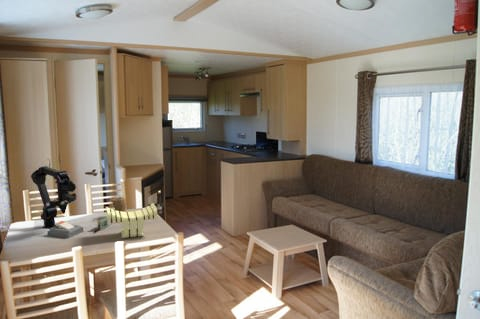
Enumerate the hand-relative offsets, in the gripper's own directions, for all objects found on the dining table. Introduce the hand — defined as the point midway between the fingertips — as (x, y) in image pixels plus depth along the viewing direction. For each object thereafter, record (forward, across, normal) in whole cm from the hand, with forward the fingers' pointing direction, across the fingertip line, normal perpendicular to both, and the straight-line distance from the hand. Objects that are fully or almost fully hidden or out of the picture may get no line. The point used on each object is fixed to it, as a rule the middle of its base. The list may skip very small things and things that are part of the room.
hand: (63, 213), depth 266 cm
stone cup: (+12, +38, -19) cm, 44 cm away
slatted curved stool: (+12, +6, -48) cm, 49 cm away
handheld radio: (+12, +14, -21) cm, 28 cm away
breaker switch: (+7, -5, -5) cm, 10 cm away
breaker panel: (+12, -5, -5) cm, 14 cm away
